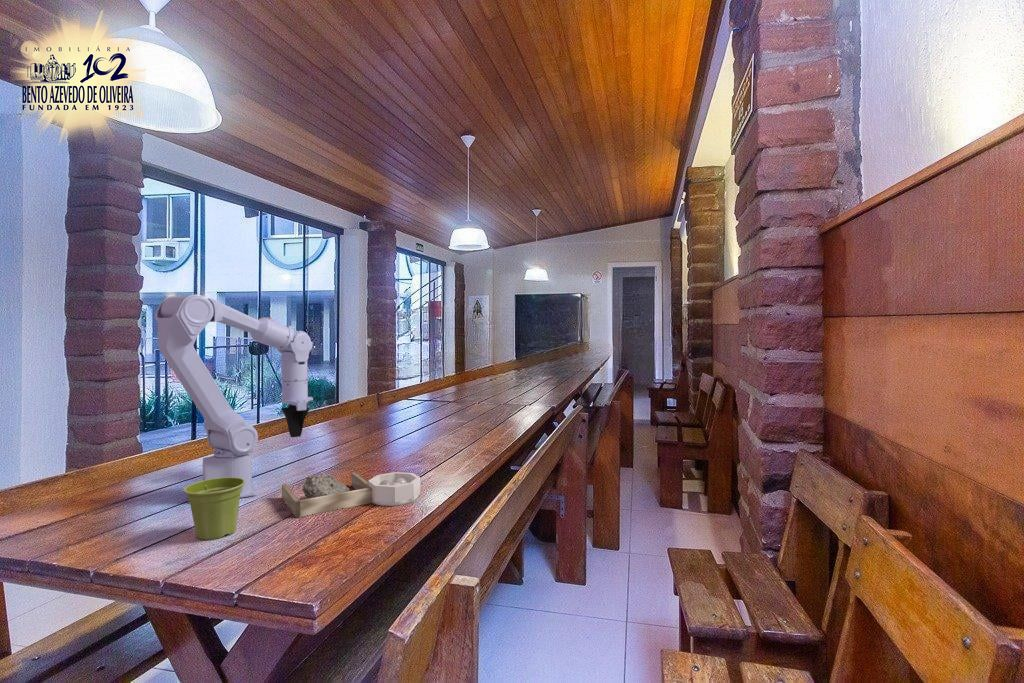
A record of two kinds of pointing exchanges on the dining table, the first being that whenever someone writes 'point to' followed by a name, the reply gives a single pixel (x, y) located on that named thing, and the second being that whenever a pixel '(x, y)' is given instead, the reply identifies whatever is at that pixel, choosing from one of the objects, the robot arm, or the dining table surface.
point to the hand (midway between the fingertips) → (295, 436)
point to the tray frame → (329, 499)
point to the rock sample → (322, 486)
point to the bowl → (394, 489)
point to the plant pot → (215, 506)
